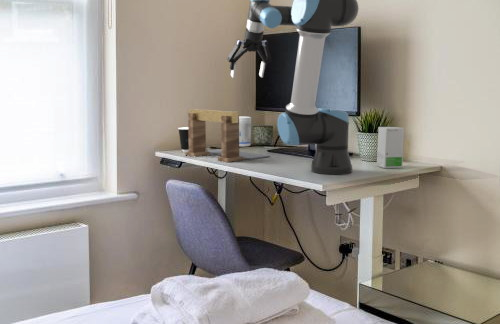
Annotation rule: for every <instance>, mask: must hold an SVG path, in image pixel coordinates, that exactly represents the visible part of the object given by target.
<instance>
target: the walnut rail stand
mask: <svg viewBox="0 0 500 324" xmlns="http://www.w3.org/2000/svg"><path fill="white" fill-rule="evenodd" d="M187 115H188V117H187V119H188V121H187V123H188V124H187V125H188V126H187V127H188V135H189V152H184V153H185V155H189V156H188V157H192V156H193V157H192V158H194V156H197V157H203V156H210V154H209V151H208V150H207V143H206V142H207V141H206V140H207V139H206V136H207V135H206V134H207V133H206V127H207V126H206V121H202V120H195V113H189V112H188V114H187ZM239 116H240V114H238V123H229V116H225V115H223V116H221V122H220V123H221V125H220V129H221V130H220V132H221V135H220V136H221V139H220V141H221V147H220V149H222V155H221V156H219V157H217V162H222V161H223V163H232V161H234V162H241V161H243V160H244V159H243V156H239V151H240V146H239Z"/></svg>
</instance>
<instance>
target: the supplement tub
mask: <svg viewBox="0 0 500 324" xmlns="http://www.w3.org/2000/svg"><path fill="white" fill-rule="evenodd" d="M251 139H252V117H251V116H244V115H243V116H240V115H239V148H240V147H241V148H242V147H243V148H244V147H245V148H246V147H250V146H251V144H252V142H251V141H252V140H251Z"/></svg>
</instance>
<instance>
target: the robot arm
mask: <svg viewBox="0 0 500 324" xmlns="http://www.w3.org/2000/svg"><path fill="white" fill-rule="evenodd" d="M249 1H250V2H249V8H248V14H247V20H246V26H245V27H246V28H245V31H244V39H243V40H240V39H237V40H236V43H235V45H234V47H233V49H232V50H231V52H230V53H229V54H228V56H227V58H226V60H227V61H228V62H229V63H230V65H229V69H230V70H231V71H230V76H231V79H235V77H236V76H235V75H236V69H237V62H238V60H239V59H241V58H242V56H244V54H246V53H248V52H257V53H258V55H259V56H260V58H261V59H262V61H261V63H260V67H259V68H260V69H259V73H258V75H259V77H260V78H264V73H265V70H267V66H268V65H269V63H272V62H273V59H272V57H271V55H272V54H271V52H270V50H269V42H268V40H266V39H264V40H263V37H264V31H265V27H267V28H268V29H275V28H277V27H279V26H285V27H286V26H288V27H289V26H291V27H295V30H296V31H297V33H298V35H299V36H298V44H297V52H296V53H297V54H296V60H295V69H294V76H293V84H292V91H291V98H290V102H289V103H288V104H286V105H285V111H284V112H282V113H280V114H279V116H277V117H278V118H277V132H278V135H279V137H280V139H281V141H282V142H283V144H285V145H287V146H297V147H299V146H306V145H307V146H308V145H309V146H310V145H315V153H314V156H313V159H312V161H311V162H312V163H311V166H310V167H311V168H310V169H311V170H310V172H313V173H316V174H321V175H347V174H351V173H352V172H353V164H352V161H351V157H350V154H349V125H350V121H349V120H350V119H349V113H348V112H347V111H345V110H338V109H329V108H323V107H322V108H321V107H318V108H317V106H316V100H317V95H318V87H319V80H320V74H321V66H322V61H323V53H324V48H325V47H324V46H325V42H326V38H327V36H329V35H331V31H332V27H344V26H348V25H350V24H351V23H353V22H354V21H355V19H356V18H357V16H358V13H359V3H358V1H357V0H293V2H292V6H290V5H289V6H287V5H273V4H272V3H270V2H271V0H249ZM262 46H263V49H264V53H265V54H264V53H263V52H262V49H261V48H260V47H262Z"/></svg>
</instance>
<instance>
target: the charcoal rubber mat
mask: <svg viewBox="0 0 500 324" xmlns="http://www.w3.org/2000/svg"><path fill="white" fill-rule="evenodd" d="M207 151H209V155H216V156H222V149H221V148H216V149H209V150H207ZM239 156H243V160H249V161H253V160H259V159H260V160H261V159H264V158H265V159H266V158H271V155H270V154H269V155H268V154H261V153H254V152H249V151H248V152H247V151H240V150H239Z"/></svg>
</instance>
